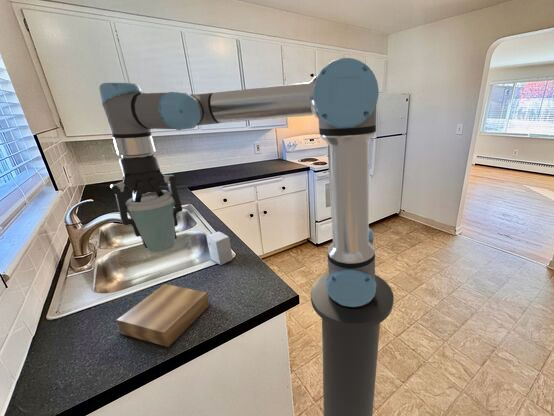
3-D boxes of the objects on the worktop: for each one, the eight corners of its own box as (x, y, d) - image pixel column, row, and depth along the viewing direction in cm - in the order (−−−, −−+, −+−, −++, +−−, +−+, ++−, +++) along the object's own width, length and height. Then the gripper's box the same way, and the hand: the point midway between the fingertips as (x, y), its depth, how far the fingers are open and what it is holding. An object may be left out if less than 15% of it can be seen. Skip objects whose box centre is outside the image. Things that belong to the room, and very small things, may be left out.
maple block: (209, 305, 83) (206, 292, 82) (168, 347, 69) (164, 332, 67) (168, 296, 88) (164, 283, 86) (121, 334, 73) (116, 319, 72)
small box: (233, 259, 108) (229, 236, 104) (220, 265, 104) (215, 241, 100) (223, 253, 113) (219, 230, 109) (210, 258, 109) (205, 235, 105)
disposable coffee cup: (139, 262, 65) (122, 205, 60) (137, 245, 73) (121, 193, 68) (187, 249, 71) (175, 196, 66) (180, 234, 79) (168, 186, 74)
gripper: (176, 148, 72) (192, 226, 80) (84, 158, 60) (114, 248, 68) (185, 151, 67) (201, 234, 75) (87, 163, 54) (119, 260, 63)
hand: (160, 241), depth 72 cm, fingers open, 6 cm apart
